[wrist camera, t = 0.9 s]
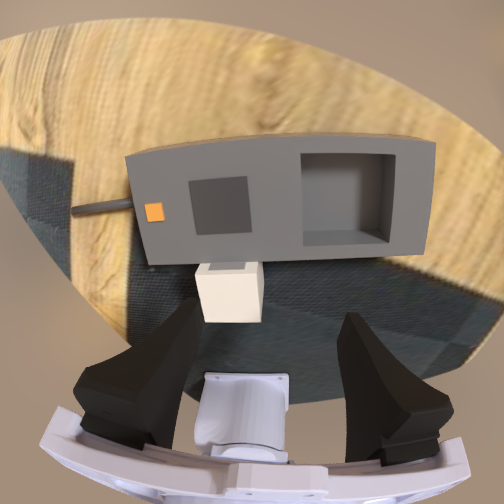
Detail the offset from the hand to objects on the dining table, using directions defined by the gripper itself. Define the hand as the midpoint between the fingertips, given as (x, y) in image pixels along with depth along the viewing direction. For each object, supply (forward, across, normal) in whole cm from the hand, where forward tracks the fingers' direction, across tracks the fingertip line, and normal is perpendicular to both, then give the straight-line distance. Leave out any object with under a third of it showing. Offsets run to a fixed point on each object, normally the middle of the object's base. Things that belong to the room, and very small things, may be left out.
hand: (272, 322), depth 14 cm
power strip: (+10, +4, -3) cm, 11 cm away
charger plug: (+10, +3, +3) cm, 10 cm away
